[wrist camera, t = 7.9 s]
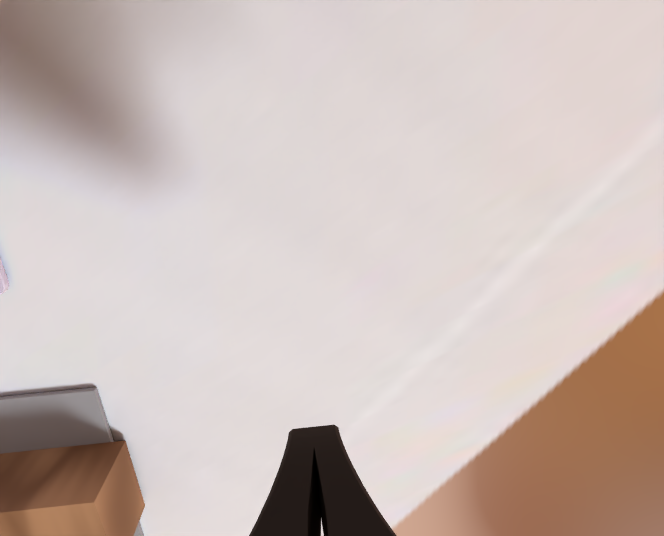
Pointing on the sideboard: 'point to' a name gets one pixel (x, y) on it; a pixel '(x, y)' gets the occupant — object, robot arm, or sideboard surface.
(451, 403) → the sideboard surface
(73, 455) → the walnut block
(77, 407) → the slate rubber mat
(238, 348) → the sideboard surface
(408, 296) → the sideboard surface
